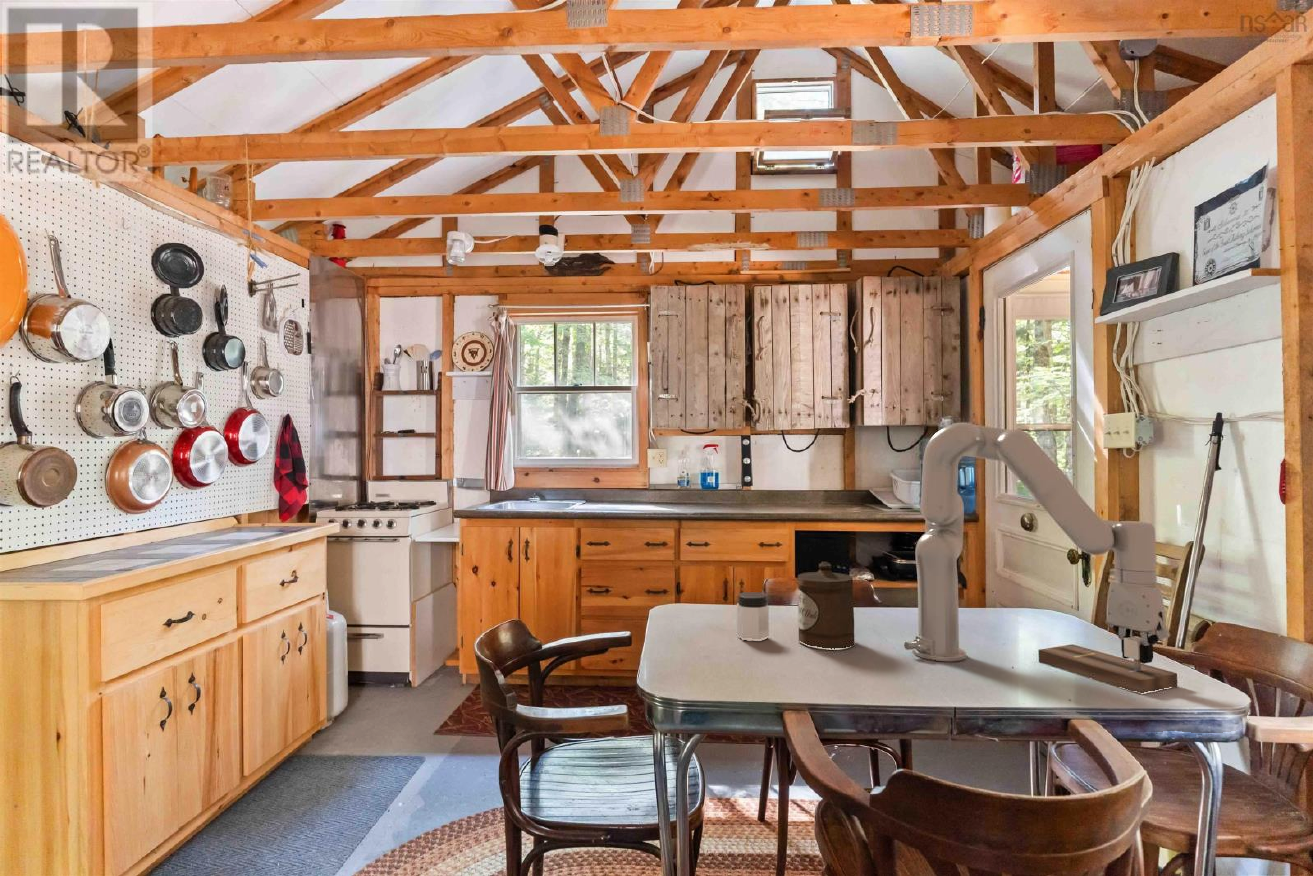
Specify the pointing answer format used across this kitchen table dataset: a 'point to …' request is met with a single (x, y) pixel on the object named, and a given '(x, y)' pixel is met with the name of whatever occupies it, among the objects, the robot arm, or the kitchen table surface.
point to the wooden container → (826, 608)
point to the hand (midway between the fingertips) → (1137, 659)
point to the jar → (752, 615)
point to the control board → (1107, 668)
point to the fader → (1133, 650)
